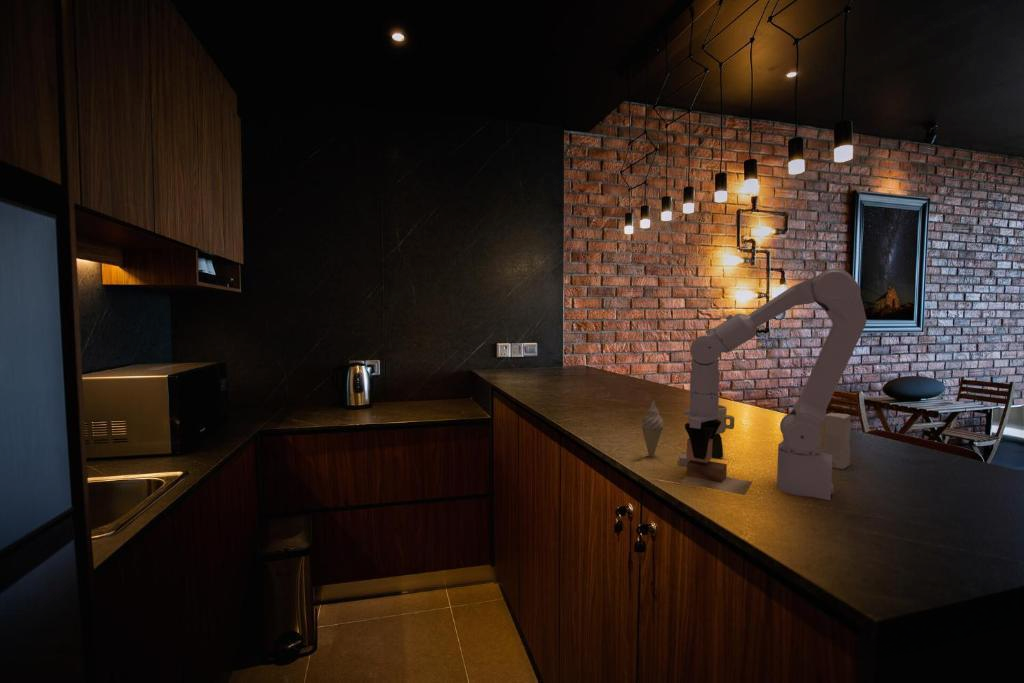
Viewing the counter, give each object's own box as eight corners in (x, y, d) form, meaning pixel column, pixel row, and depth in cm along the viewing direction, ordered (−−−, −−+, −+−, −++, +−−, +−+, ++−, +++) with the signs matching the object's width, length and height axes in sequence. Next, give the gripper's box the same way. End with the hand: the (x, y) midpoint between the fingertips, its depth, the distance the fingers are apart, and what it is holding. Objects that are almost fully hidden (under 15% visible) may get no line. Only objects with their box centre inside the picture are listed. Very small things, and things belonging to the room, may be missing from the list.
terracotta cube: (711, 458, 104) (712, 438, 103) (707, 462, 100) (708, 443, 100) (691, 454, 106) (692, 435, 106) (686, 458, 103) (687, 439, 102)
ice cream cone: (657, 464, 114) (659, 401, 113) (637, 460, 117) (638, 399, 116) (665, 459, 118) (666, 399, 117) (645, 456, 121) (646, 396, 120)
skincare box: (844, 470, 111) (846, 418, 111) (821, 465, 114) (823, 415, 114) (850, 464, 115) (852, 414, 115) (828, 460, 119) (830, 411, 118)
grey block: (696, 467, 112) (697, 454, 112) (698, 472, 109) (698, 459, 109) (678, 465, 114) (679, 453, 113) (679, 470, 110) (679, 458, 110)
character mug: (682, 456, 120) (684, 405, 120) (691, 450, 126) (693, 401, 125) (729, 465, 114) (730, 410, 113) (736, 458, 119) (738, 406, 119)
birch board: (752, 486, 100) (752, 481, 99) (744, 499, 92) (744, 494, 92) (692, 475, 106) (692, 470, 106) (680, 486, 99) (680, 481, 99)
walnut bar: (726, 476, 102) (726, 464, 102) (721, 482, 99) (722, 469, 99) (692, 470, 106) (692, 458, 106) (686, 476, 103) (687, 463, 103)
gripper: (693, 386, 110) (691, 445, 111) (675, 394, 98) (673, 460, 99) (726, 389, 106) (724, 450, 107) (711, 398, 94) (709, 466, 95)
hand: (702, 455), depth 103 cm, fingers closed on terracotta cube, 4 cm apart
